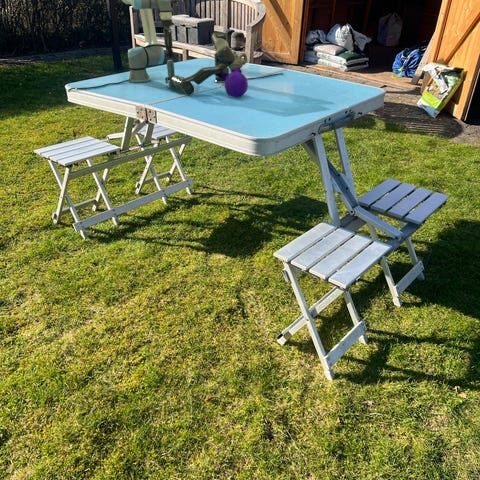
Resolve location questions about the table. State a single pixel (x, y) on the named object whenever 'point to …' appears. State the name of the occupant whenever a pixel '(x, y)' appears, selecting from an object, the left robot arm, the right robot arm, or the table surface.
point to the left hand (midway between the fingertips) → (169, 56)
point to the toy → (234, 82)
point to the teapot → (238, 61)
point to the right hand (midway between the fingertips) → (170, 78)
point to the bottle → (170, 71)
